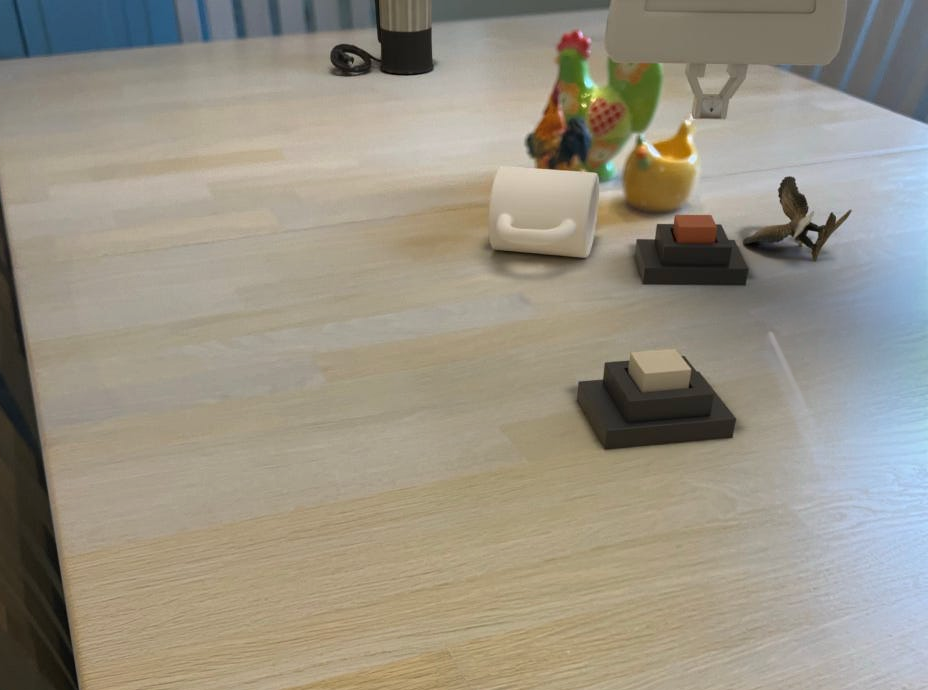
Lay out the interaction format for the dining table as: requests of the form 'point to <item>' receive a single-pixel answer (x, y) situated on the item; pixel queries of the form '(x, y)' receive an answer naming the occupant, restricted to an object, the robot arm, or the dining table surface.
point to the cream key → (659, 370)
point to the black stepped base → (652, 411)
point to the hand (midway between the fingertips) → (708, 117)
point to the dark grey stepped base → (689, 260)
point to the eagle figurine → (797, 221)
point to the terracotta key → (694, 229)
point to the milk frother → (395, 39)
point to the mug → (543, 211)
